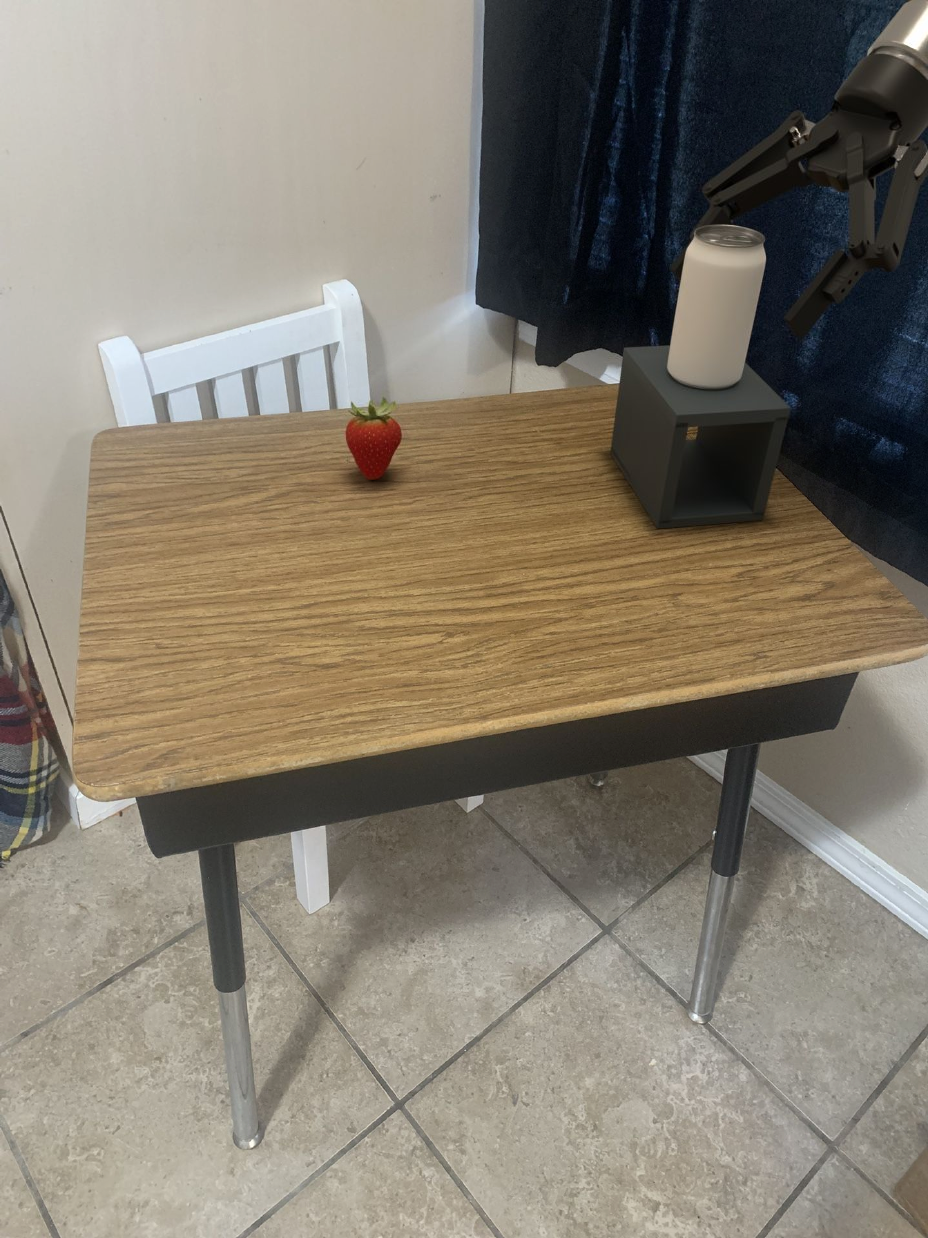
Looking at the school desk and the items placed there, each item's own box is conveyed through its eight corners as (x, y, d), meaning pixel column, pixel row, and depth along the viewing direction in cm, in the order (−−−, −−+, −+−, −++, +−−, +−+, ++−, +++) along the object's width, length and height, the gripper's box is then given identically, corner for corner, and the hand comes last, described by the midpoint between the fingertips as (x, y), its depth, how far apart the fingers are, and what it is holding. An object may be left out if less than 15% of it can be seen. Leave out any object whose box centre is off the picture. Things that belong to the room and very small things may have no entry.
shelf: (763, 520, 88) (791, 407, 81) (657, 529, 86) (676, 414, 80) (704, 447, 99) (725, 342, 92) (609, 453, 97) (623, 347, 90)
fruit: (396, 461, 95) (394, 384, 90) (407, 489, 91) (406, 409, 86) (343, 467, 94) (339, 389, 89) (353, 495, 90) (349, 415, 85)
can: (664, 358, 89) (685, 220, 81) (736, 363, 88) (764, 225, 81) (668, 388, 83) (692, 244, 76) (745, 393, 83) (776, 249, 76)
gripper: (1052, 145, 73) (864, 378, 77) (802, 90, 90) (656, 283, 93) (1033, 72, 68) (832, 327, 71) (771, 28, 85) (617, 235, 88)
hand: (732, 302), depth 82 cm, fingers open, 13 cm apart
